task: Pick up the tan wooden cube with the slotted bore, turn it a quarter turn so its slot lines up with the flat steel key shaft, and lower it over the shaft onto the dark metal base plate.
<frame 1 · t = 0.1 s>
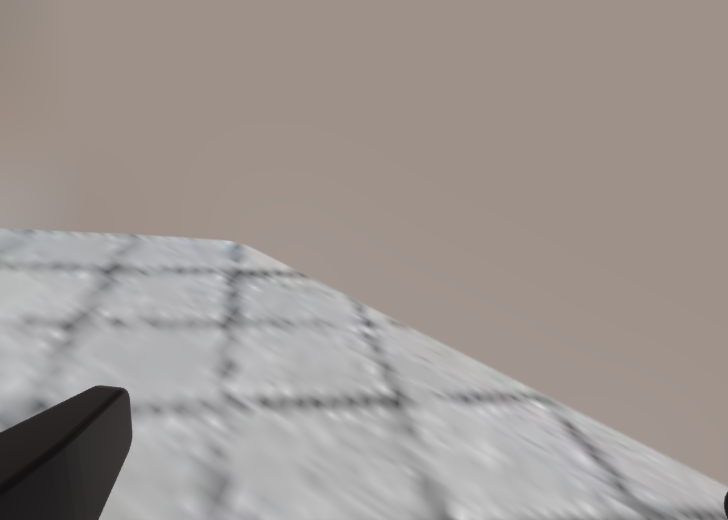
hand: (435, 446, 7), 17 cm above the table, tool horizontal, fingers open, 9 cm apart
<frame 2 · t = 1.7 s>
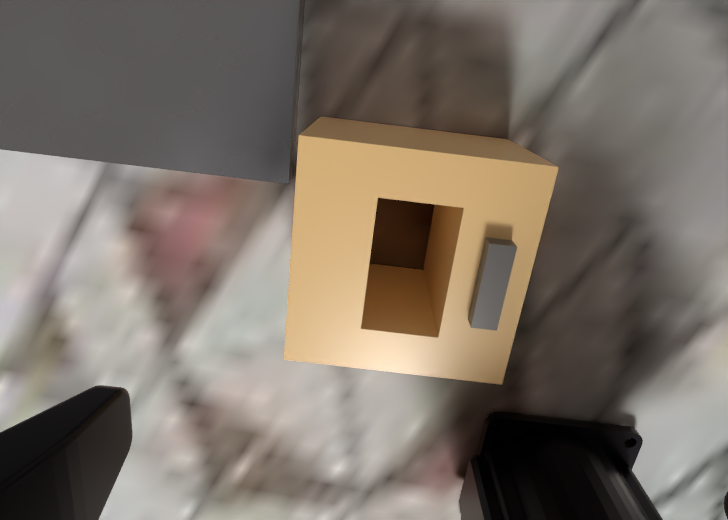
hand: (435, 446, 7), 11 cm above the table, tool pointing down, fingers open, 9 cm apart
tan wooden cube: (401, 218, 18), on the table
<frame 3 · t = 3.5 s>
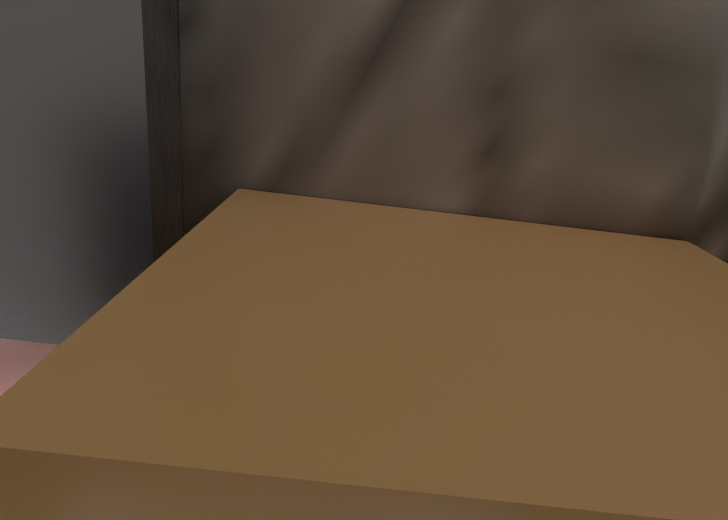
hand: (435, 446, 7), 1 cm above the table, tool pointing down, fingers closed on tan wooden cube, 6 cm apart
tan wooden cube: (428, 401, 8), on the table, touching gripper
when the fingers open (3 cm above the table, at t = 9.8 s): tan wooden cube stays where it is, resting on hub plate.
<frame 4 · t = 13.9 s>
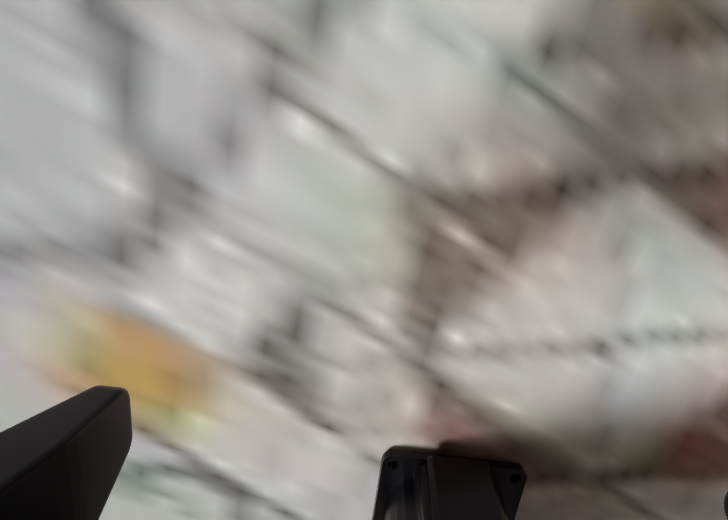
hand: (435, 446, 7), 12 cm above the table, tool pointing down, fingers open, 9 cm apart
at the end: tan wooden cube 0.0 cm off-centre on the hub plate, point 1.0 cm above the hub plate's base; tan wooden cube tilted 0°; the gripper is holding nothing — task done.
